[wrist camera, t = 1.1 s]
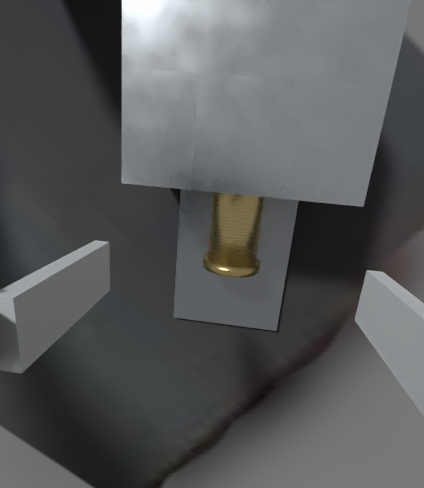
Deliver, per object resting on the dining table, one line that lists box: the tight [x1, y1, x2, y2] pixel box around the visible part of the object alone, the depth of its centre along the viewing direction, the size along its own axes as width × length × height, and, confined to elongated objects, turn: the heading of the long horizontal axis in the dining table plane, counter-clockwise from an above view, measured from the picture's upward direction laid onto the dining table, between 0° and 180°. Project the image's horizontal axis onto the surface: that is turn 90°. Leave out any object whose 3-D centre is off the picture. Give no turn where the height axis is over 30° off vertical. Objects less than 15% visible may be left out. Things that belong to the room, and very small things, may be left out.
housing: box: [122, 0, 411, 331], centre depth 25 cm, size 16×28×11 cm, turn 175°
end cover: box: [202, 192, 265, 278], centre depth 27 cm, size 6×14×6 cm, turn 175°
